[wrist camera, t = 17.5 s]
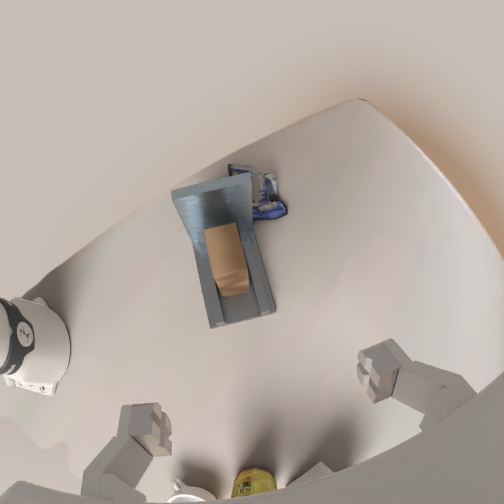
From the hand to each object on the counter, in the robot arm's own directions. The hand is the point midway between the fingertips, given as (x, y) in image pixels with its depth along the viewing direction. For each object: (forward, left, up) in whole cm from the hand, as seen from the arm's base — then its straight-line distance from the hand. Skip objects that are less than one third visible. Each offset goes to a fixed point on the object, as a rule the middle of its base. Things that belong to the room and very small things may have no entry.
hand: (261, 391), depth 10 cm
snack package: (+7, +28, -32) cm, 43 cm away
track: (0, +14, -31) cm, 34 cm away
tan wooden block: (0, +14, -30) cm, 34 cm away
